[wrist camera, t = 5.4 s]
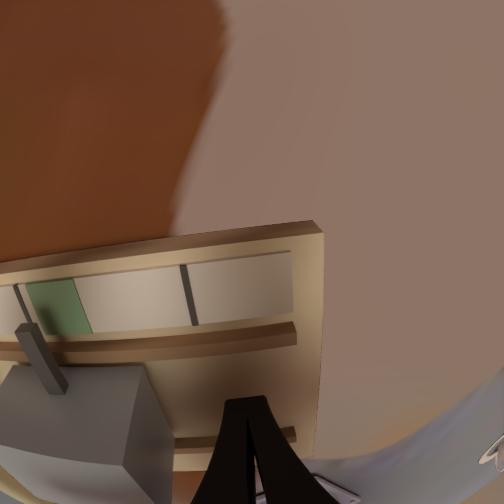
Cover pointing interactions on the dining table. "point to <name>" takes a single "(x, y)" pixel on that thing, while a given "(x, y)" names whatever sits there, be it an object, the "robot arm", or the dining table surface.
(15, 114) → the dining table surface
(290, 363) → the scale board
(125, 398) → the gauge carriage
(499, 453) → the teacup and saucer
